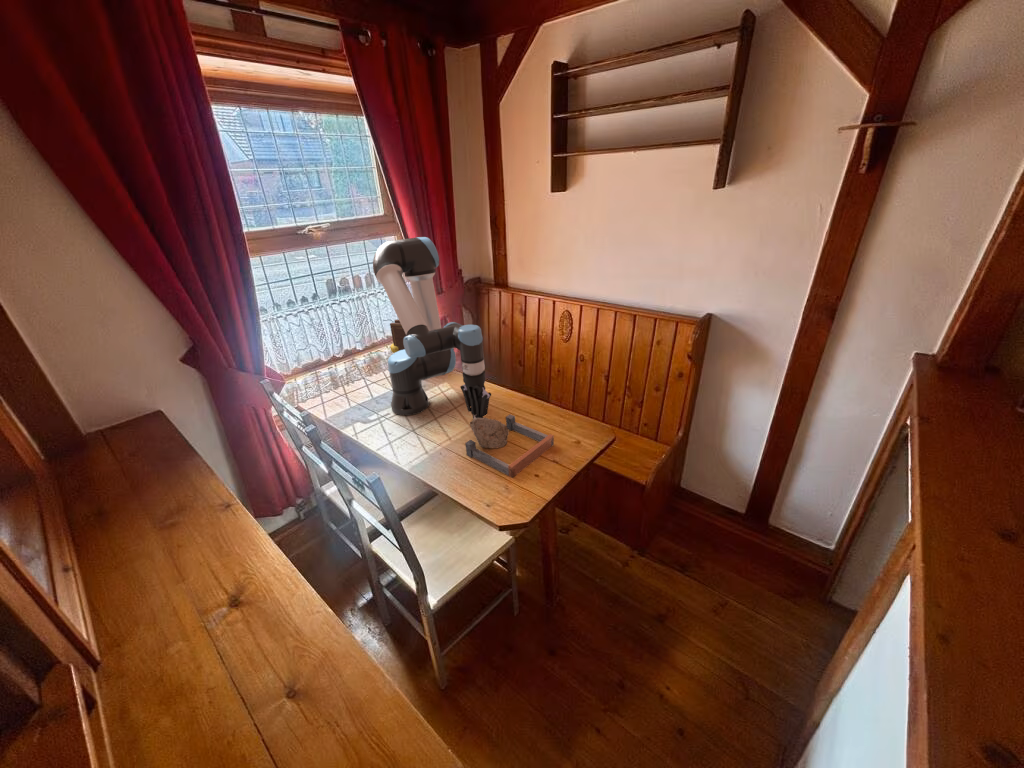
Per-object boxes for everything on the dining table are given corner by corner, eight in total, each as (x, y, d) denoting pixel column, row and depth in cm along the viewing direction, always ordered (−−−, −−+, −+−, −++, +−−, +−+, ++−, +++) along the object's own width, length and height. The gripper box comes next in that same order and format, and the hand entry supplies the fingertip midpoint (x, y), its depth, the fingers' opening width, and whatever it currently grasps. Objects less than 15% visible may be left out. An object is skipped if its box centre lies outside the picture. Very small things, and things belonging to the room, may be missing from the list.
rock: (505, 415, 153) (512, 418, 146) (503, 443, 154) (510, 448, 146) (467, 414, 149) (473, 418, 141) (466, 443, 150) (471, 449, 142)
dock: (466, 455, 143) (465, 442, 141) (510, 425, 158) (510, 414, 156) (511, 478, 131) (510, 465, 129) (554, 444, 147) (554, 432, 144)
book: (441, 369, 206) (435, 320, 195) (434, 376, 199) (427, 326, 188) (400, 366, 211) (391, 318, 200) (392, 374, 204) (382, 324, 193)
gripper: (452, 370, 143) (459, 428, 154) (479, 380, 136) (484, 441, 146) (468, 362, 148) (473, 420, 159) (495, 371, 141) (499, 431, 151)
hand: (479, 430), depth 153 cm, fingers closed
